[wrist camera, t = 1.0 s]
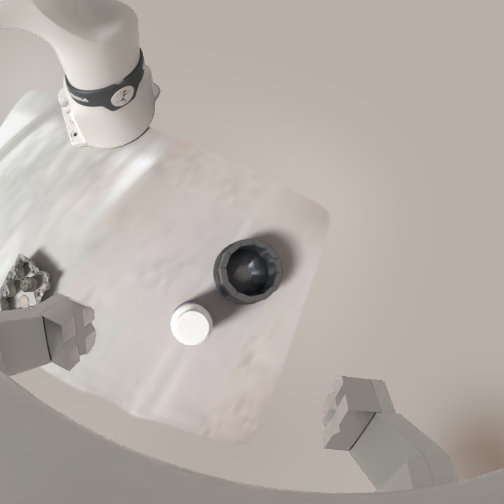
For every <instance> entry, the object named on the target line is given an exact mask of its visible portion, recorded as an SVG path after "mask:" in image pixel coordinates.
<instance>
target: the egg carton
mask: <svg viewBox="0 0 504 504" xmlns="http://www.w3.org/2000/svg"><path fill="white" fill-rule="evenodd" d="M25 262H26V263H29V264H28V266H29V267H30V271H31V272H32V273H35V274H40V275H42V274H45V276H44V278H43V279H44V283H46V286H45V288H44V289H39V290H37V291H36V289H37V287H38V283H37V281H36V279H35V278H32V277H24V275H25V271H24V268H23V265H24V263H25ZM36 264H37V263H36V262H35V261H34V260H31V259H28V258H27V257H25V256H23V255H22V254H19V255H18V257H17V259H16V261H15V264H14V266H13V267H12V270H11V271H10V272H8V275H7V277H6V279H5V281H4V283H3V286H2V287H1V289H0V310H1V311H5V310H9V304H8V302H7V299H8V297H13V296H15V294H16V286H15V281H16V280H20V287H21V289H22V290H23V292H34V291H36V292H34V296H35V299H36V302H37V304H36V305H38V304H40V303H41V302H42V301H41V298H42V296H43V294H44V292H45V290H48V291H49V289H50V288H51V284H50V281H49V278H50V274H49V273H47V272H45V271H40V270H39V269H38V267H37V266H36ZM19 305H20V307H21V308H27V307H28V305H29V299H28V297H27V296H26V295H22V296H21V297H20V298H19ZM36 305H35V306H36ZM35 306H29V307H28V309H31V308H33V307H35Z"/></svg>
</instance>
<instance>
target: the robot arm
mask: <svg viewBox="0 0 504 504" xmlns="http://www.w3.org/2000/svg"><path fill="white" fill-rule="evenodd" d="M0 29H19V30H23V31H27V32H30V33H32V34H35V35H37V36H39V37H40V38H42V39H43V40H45V41H46V42H47V43H48V44H49V45H50V46H51V47H52V48H53V50H54V51H55V53H56V54H57V56H58V58H59V61H60V63H61V65H62V67H63V69H64V71H65V76H64V78H63V83H64V86H63V87H62V89H61V90H60V91H59V94H58V96H59V97H58V100H59V103H60V105H61V108H62V112H63V116H64V120H65V123H66V127H67V130H68V134H69V137H70V140H71V143H72V145H73V146H74V147H82V146H88V145H89V146H95V147H99V148H114V147H119V146H122V145H125V144H127V143H129V142H131V141H133V140H135V139H136V138H137V137H139V136H140V135H141V134H142V133H143V132H144V131H145V130H146V129H147V128H148V126H149V125H150V123H151V121H152V119H153V116H154V109H155V108H154V106H155V101H156V99H157V98H158V96H159V94H160V88H159V86H158V85H156V84H155V83H153V81H152V75H151V69H150V68H149V66H146V65H145V64H144V57H143V53H142V50H141V48H140V47H139V32H138V18H137V15H136V13H135V12H134V10H133V9H132V8H131V7H129V6H128V5H126V4H124V3H122V2H120V1H117V0H0ZM76 134H77V136H75V135H76ZM94 319H95V318H94V310H93V309H92V308H91V307H90V306H88V305H85V304H83V303H81V302H79V301H76V300H74V299H72V298H69V297H68V296H65V295H63V294H60V293H56V294H55V295H53V296H51V297H50V298H48V299H46V300H45V301H43V302H41V303H40V304H38V305H36V306H35V307H33V308H31V309H28V308H23V309H14V310H5V311H0V504H504V468H502V469H500V470H497V471H493V472H490V473H487V474H484V475H480V476H477V477H473V478H469V479H465V480H461V481H459V480H458V477H457V475H456V472H455V469H454V467H453V464H452V461H451V459H450V456H449V454H448V453H447V452H446V451H445V450H443V449H442V448H441V447H440V446H438V445H437V444H436V443H435V442H433V441H432V440H431V439H430V438H428V437H427V436H426V435H425V434H424V433H422V432H421V431H420V430H419V429H418V428H416V427H415V426H414V425H413V424H412V423H410V422H409V421H408V420H407V419H406V418H404V417H403V416H402V415H401V414H396V412H395V409H394V406H393V404H392V401H391V398H390V395H389V393H388V390H387V387H386V385H385V382H384V381H382V380H374V379H360V378H352V377H345V376H338V378H337V379H336V380H335V382H334V384H333V389H334V392H333V393H331V394H329V395H328V396H327V399H326V401H325V403H324V407H323V410H322V423H323V424H324V425H325V426H326V429H325V430H324V432H323V439H324V448H326V449H335V450H345V451H349V452H350V454H351V455H352V457H353V458H354V459H355V460H356V462H357V463H358V465H359V466H360V467H361V469H362V470H363V471H364V473H365V474H366V475H367V477H368V478H369V479H370V481H371V482H372V483H373V485H374V486H375V487H376V489H377V491H376V492H375V493H320V492H319V493H318V492H305V491H294V490H285V489H277V488H270V487H263V486H257V485H251V484H246V483H241V482H236V481H231V480H227V479H222V478H218V477H214V476H210V475H206V474H203V473H199V472H195V471H192V470H189V469H185V468H182V467H179V466H176V465H173V464H170V463H167V462H164V461H161V460H159V459H156V458H153V457H151V456H148V455H146V454H143V453H140V452H138V451H135V450H133V449H131V448H128V447H126V446H124V445H121V444H119V443H117V442H115V441H113V440H111V439H109V438H106V437H105V436H102V435H100V434H98V433H96V432H95V431H93V430H91V429H89V428H87V427H85V426H83V425H81V424H79V423H78V422H76V421H74V420H72V419H71V418H69V417H67V416H65V415H64V414H62V413H60V412H59V411H57V410H56V409H54V408H52V407H51V406H49V405H47V404H46V403H45V402H43V401H41V400H40V399H39V398H37V397H35V396H34V395H33V394H31V393H30V392H28V391H27V390H25V389H24V388H23V387H22V386H20V385H19V384H17V383H16V382H15V381H13V380H12V379H11V378H10V377H9V376H12V375H15V374H18V373H21V372H24V371H27V370H30V369H33V368H36V367H39V366H42V365H45V364H48V363H51V362H53V363H55V364H57V365H59V366H61V367H63V368H64V369H66V370H68V371H70V370H71V369H72V368H73V367H74V366H75V365H76V364H77V363H78V362H79V361H80V355H84V354H87V353H88V352H89V351H90V350H91V349H92V347H93V345H94V343H95V337H96V333H95V328H94V327H93V325H92V322H93V320H94Z"/></svg>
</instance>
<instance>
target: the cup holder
mask: <svg viewBox="0 0 504 504" xmlns="http://www.w3.org/2000/svg"><path fill="white" fill-rule="evenodd" d="M282 274H283V271H282V266H281V261H280V257H279V256H278V254H277V253H276V252H275V251H274V249H273V248H272V247H271V246H270V245H269V244H267V243H265V242H262V241H260V240H257V239H247V240H241V241H237V242H235V243H233V244H231V245H229V246H227V247H226V248H225V249H224V250H223V251H222V252H221V253H220V254H219V256H218V257H217V259H216V261H215V264H214V270H213V276H214V281H215V284H216V287H217V288H218V290H219V291H220V293H221V294H222V295H223V296H224V297H225V298H227V299H228V300H230V301H232V302H234V303H238V304H253V303H256V302H259V301H261V300H265V299H267V298H268V297H269V296H270V295H271V294H272V293H273V292H274V291H276V290H277V289H278V286H279V283H280V280H281V277H282Z"/></svg>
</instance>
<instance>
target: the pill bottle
mask: <svg viewBox="0 0 504 504" xmlns="http://www.w3.org/2000/svg"><path fill="white" fill-rule="evenodd" d="M212 328H213V322H212V318H211V316H210V314H209V312H208V311H207V310H206V309H205V308H204V307H202V306H201V305H199V304H197V303H194V302H186V303H183V304H181V305H179V306H178V307H177V308H176V309H175V311H174V312H173V315H172V318H171V330H172V332H173V334H174V336H175V337H176V339H177V340H179V341H180V342H181V343H183V344H186V345H198V344H201V343H203V342H204V341H205V340H207V338H208V337H209V336H210V334H211V332H212Z"/></svg>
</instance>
